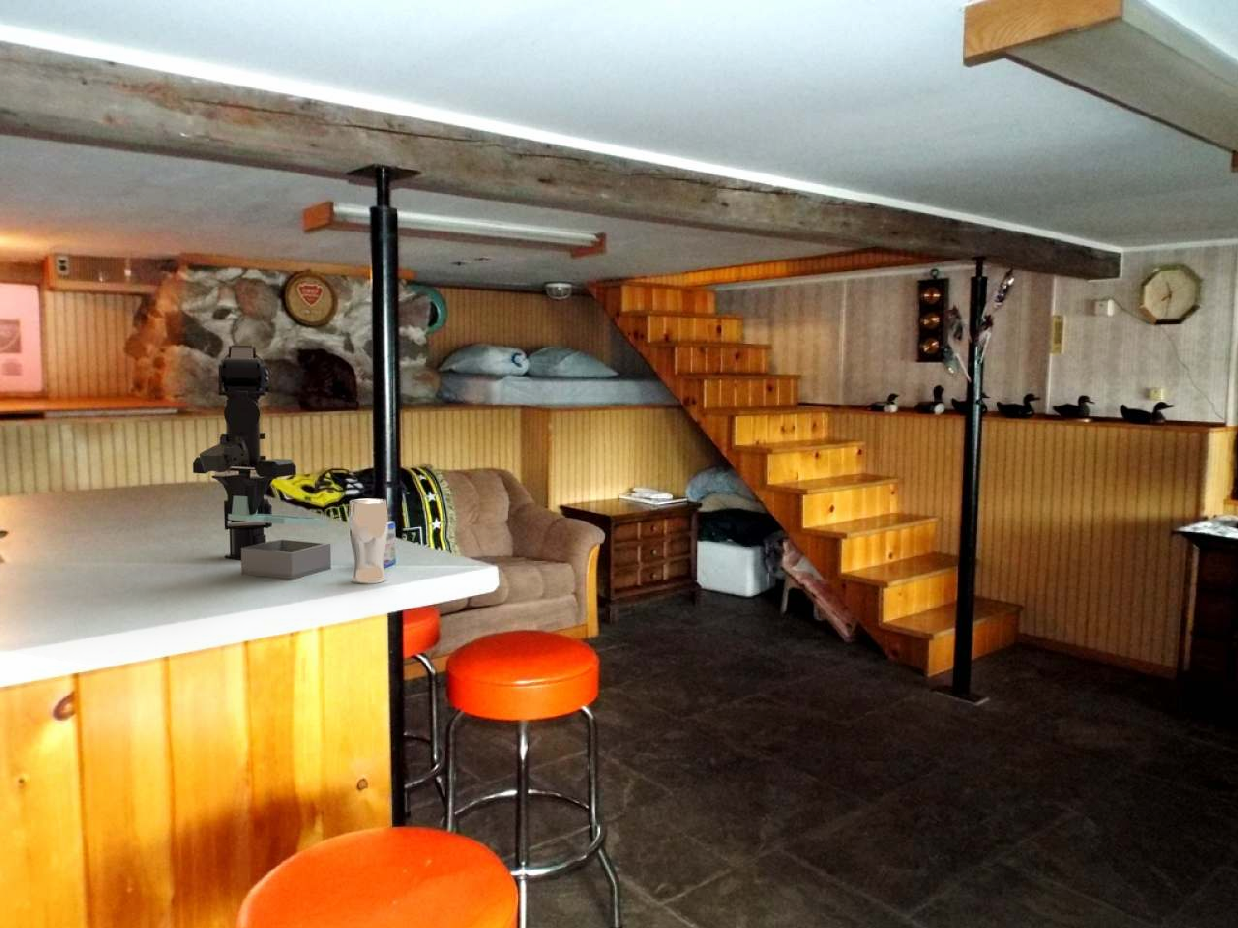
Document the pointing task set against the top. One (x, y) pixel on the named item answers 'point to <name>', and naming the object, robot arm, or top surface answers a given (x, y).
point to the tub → (285, 559)
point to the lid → (266, 515)
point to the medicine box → (390, 546)
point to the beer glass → (368, 539)
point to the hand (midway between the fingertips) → (245, 513)
